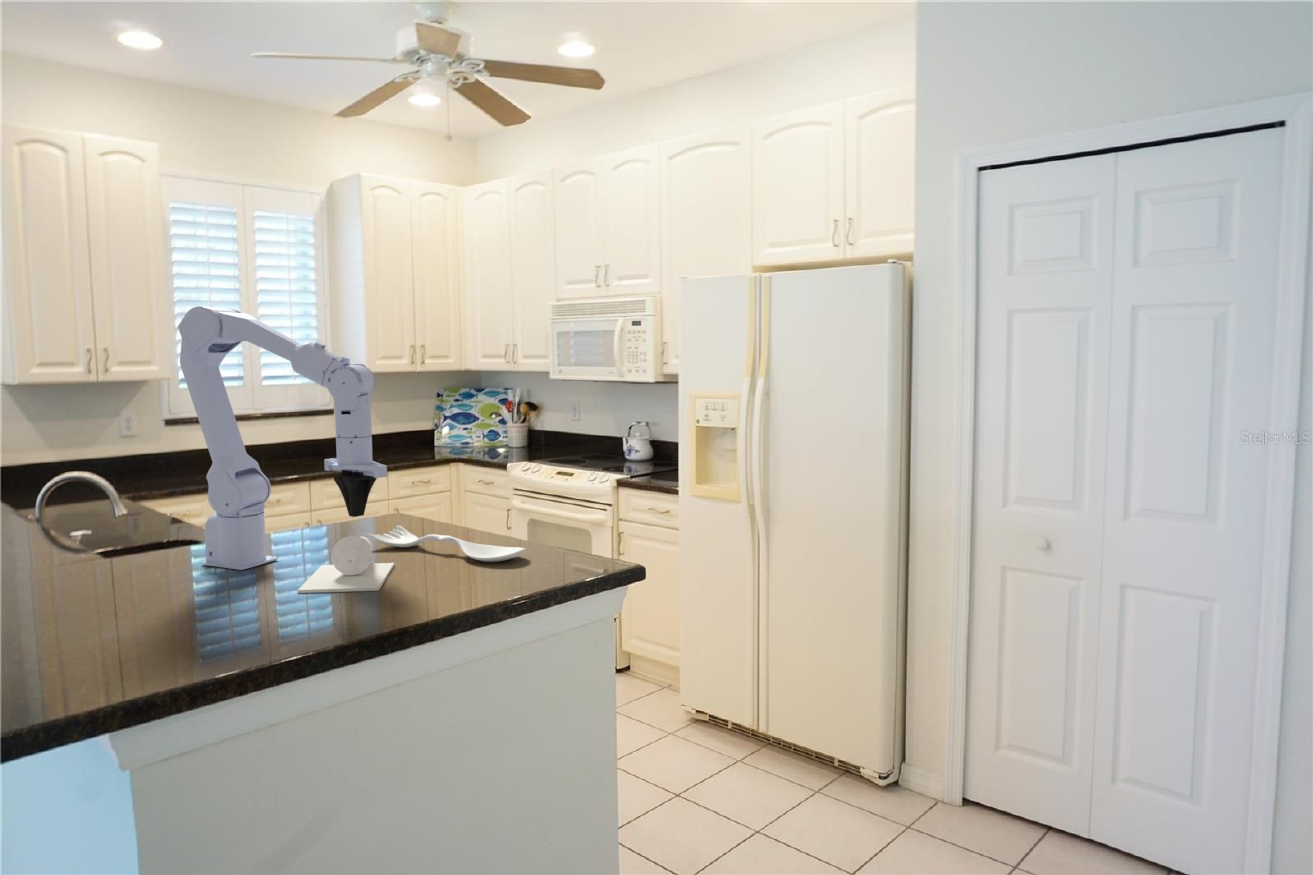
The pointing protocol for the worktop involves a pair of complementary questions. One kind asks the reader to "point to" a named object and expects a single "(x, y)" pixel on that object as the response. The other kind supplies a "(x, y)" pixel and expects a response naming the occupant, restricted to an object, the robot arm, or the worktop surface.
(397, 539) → the white plastic utensil
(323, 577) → the mat
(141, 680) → the worktop surface
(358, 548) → the smoothie
